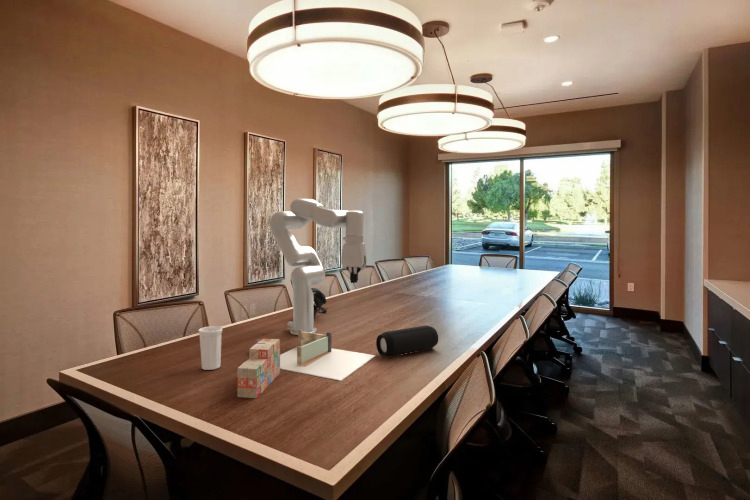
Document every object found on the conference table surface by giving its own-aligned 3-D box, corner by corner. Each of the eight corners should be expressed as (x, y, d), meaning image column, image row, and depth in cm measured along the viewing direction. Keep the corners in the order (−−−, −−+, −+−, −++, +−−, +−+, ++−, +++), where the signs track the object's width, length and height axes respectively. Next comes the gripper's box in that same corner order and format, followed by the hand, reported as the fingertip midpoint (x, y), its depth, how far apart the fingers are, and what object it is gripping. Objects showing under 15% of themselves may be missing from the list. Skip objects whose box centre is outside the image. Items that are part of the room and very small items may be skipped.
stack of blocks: (257, 399, 124) (256, 359, 123) (237, 397, 125) (236, 358, 124) (280, 372, 145) (280, 338, 144) (263, 371, 146) (263, 337, 145)
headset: (321, 327, 235) (295, 314, 213) (309, 315, 242) (282, 300, 221) (340, 305, 236) (315, 289, 215) (327, 293, 243) (302, 276, 222)
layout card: (260, 365, 152) (260, 364, 152) (303, 344, 177) (303, 343, 177) (341, 381, 138) (341, 380, 138) (375, 356, 163) (375, 355, 163)
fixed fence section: (297, 347, 173) (297, 328, 172) (300, 345, 175) (300, 327, 174) (329, 352, 166) (329, 333, 166) (332, 351, 168) (332, 332, 168)
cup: (208, 373, 143) (207, 333, 142) (194, 368, 147) (193, 329, 146) (227, 366, 150) (227, 328, 149) (213, 362, 154) (213, 324, 153)
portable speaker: (424, 344, 179) (425, 322, 179) (439, 351, 171) (440, 327, 170) (374, 354, 166) (375, 330, 165) (388, 361, 158) (388, 336, 157)
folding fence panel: (325, 350, 167) (325, 335, 166) (328, 351, 166) (328, 335, 165) (296, 363, 151) (296, 346, 151) (299, 364, 151) (299, 347, 150)
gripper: (334, 239, 175) (334, 282, 176) (366, 240, 169) (365, 285, 170) (343, 238, 182) (342, 280, 183) (374, 240, 175) (373, 282, 177)
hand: (353, 282), depth 177 cm, fingers closed
